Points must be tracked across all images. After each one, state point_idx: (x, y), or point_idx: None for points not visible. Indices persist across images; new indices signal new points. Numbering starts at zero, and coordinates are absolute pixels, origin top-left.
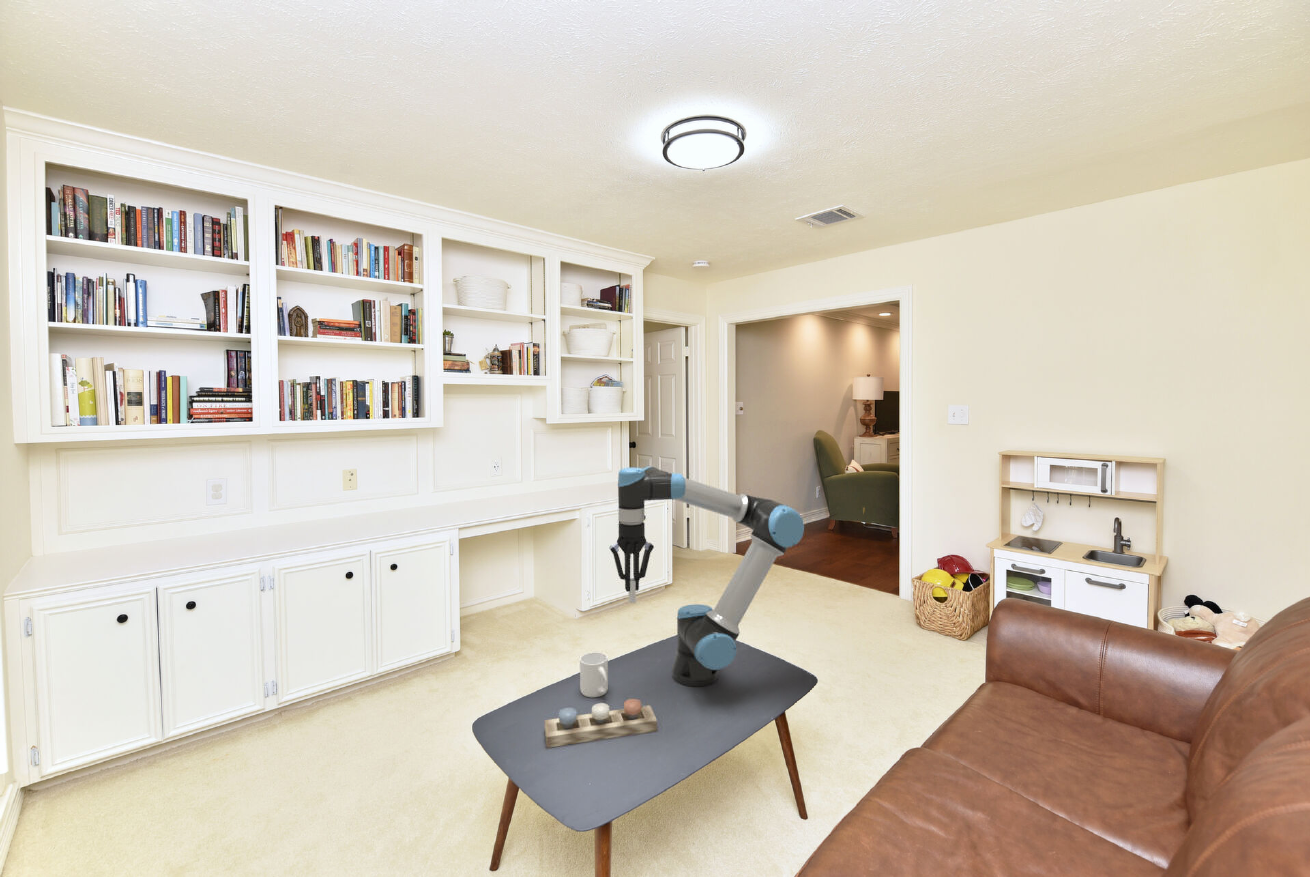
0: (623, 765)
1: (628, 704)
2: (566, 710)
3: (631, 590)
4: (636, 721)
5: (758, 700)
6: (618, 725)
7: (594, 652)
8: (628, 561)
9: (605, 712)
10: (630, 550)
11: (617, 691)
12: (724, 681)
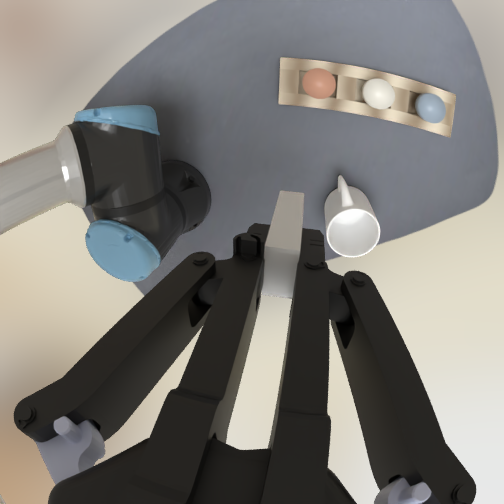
0: (355, 6)
1: (327, 82)
2: (433, 115)
3: (296, 220)
4: (316, 65)
5: None
6: (349, 66)
7: (344, 254)
8: (304, 379)
9: (374, 79)
10: (264, 495)
11: (311, 190)
12: None
